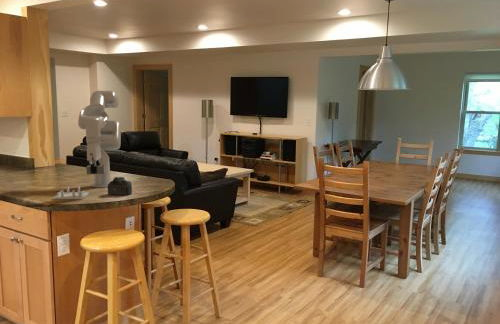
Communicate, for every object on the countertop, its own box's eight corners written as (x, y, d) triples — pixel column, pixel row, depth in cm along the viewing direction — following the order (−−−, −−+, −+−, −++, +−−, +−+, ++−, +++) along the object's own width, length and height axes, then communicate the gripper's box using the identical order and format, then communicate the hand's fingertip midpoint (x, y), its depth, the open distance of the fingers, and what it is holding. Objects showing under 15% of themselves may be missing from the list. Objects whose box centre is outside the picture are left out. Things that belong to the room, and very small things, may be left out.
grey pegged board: (61, 194, 234) (61, 186, 233) (88, 193, 235) (88, 186, 234) (52, 199, 222) (51, 191, 222) (80, 199, 223) (80, 190, 222)
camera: (133, 191, 241) (132, 174, 239) (131, 195, 231) (130, 178, 230) (109, 192, 239) (108, 175, 238) (106, 196, 229) (105, 178, 228)
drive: (88, 172, 232) (87, 165, 231) (104, 171, 234) (104, 164, 234) (86, 174, 228) (86, 167, 227) (104, 173, 230) (103, 166, 229)
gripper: (92, 137, 236) (93, 168, 239) (81, 142, 219) (83, 175, 222) (105, 137, 236) (107, 168, 239) (95, 142, 219) (97, 175, 223)
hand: (95, 171), depth 231 cm, fingers closed on drive, 5 cm apart
